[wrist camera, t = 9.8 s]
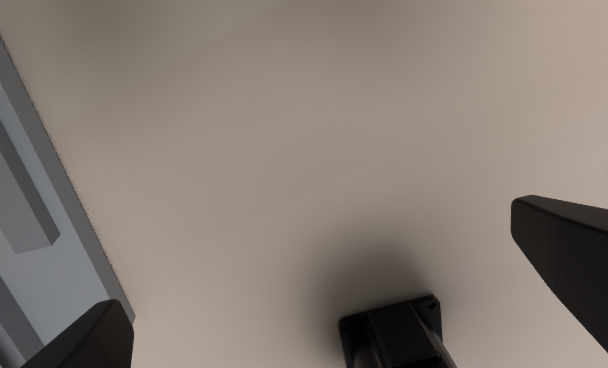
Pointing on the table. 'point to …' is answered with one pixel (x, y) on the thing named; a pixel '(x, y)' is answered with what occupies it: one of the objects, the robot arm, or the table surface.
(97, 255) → the grey stepped stand
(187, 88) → the table surface
